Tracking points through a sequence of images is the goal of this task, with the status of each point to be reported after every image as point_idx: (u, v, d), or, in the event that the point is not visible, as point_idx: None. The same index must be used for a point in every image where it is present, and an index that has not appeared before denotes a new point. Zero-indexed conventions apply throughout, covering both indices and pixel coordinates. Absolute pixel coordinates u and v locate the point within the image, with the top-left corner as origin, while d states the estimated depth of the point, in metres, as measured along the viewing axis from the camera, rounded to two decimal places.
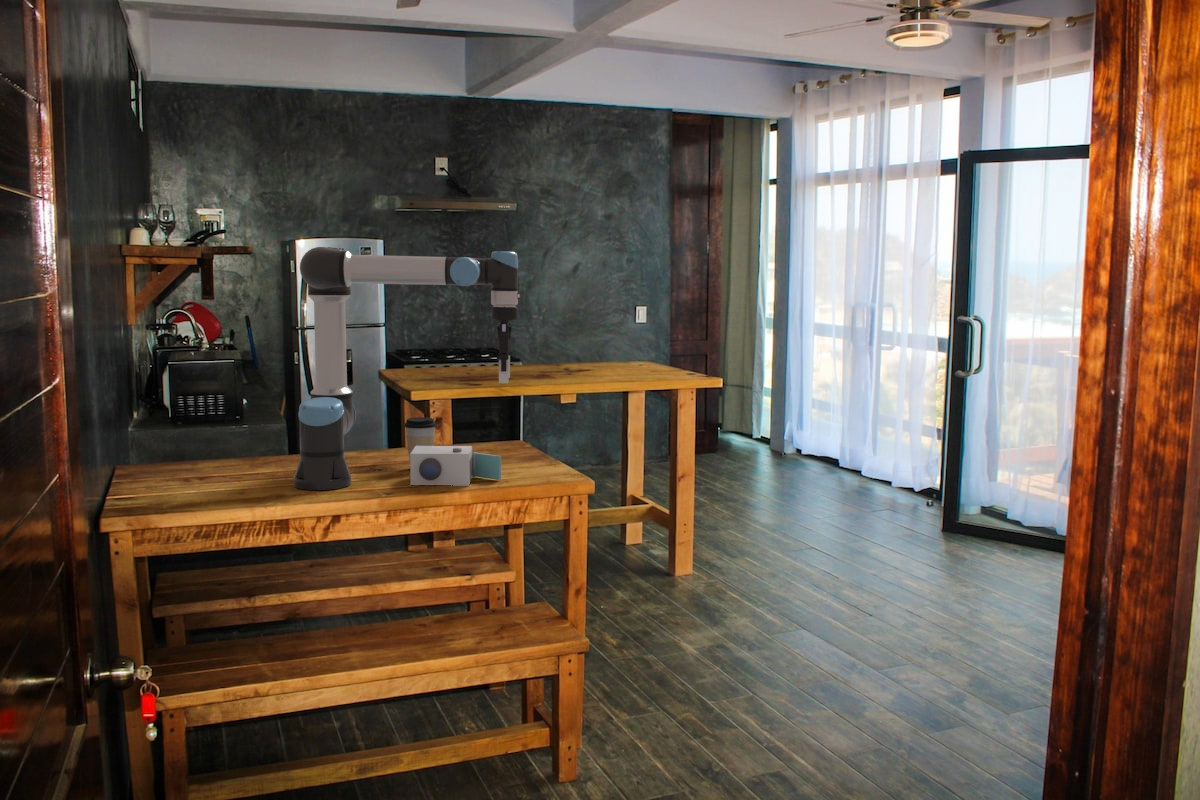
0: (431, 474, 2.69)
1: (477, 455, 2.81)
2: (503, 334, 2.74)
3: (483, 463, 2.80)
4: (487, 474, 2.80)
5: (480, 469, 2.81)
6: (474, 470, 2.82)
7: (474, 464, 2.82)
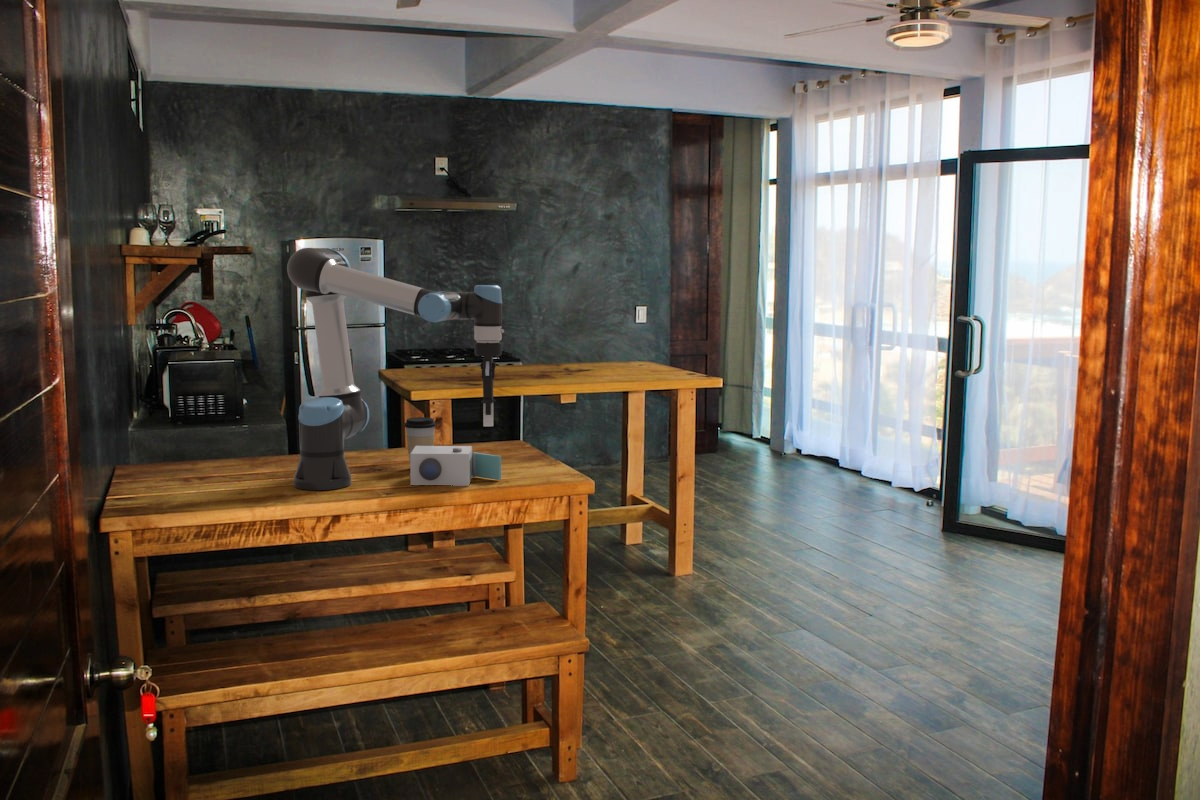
0: (431, 474, 2.69)
1: (477, 455, 2.81)
2: (487, 379, 2.67)
3: (483, 463, 2.80)
4: (487, 474, 2.80)
5: (480, 469, 2.81)
6: (474, 470, 2.82)
7: (474, 464, 2.82)
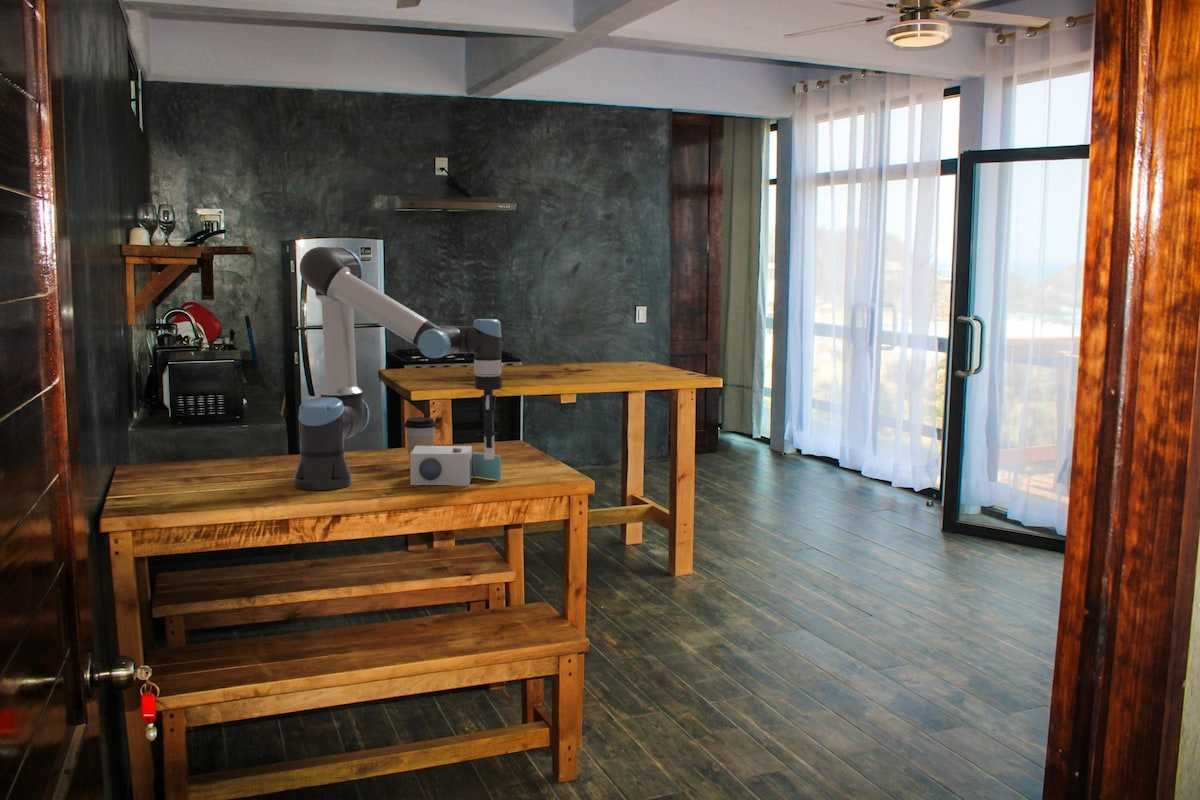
0: (431, 474, 2.69)
1: (477, 455, 2.81)
2: (487, 412, 2.69)
3: (483, 463, 2.80)
4: (487, 474, 2.80)
5: (480, 469, 2.81)
6: (474, 470, 2.82)
7: (474, 464, 2.82)
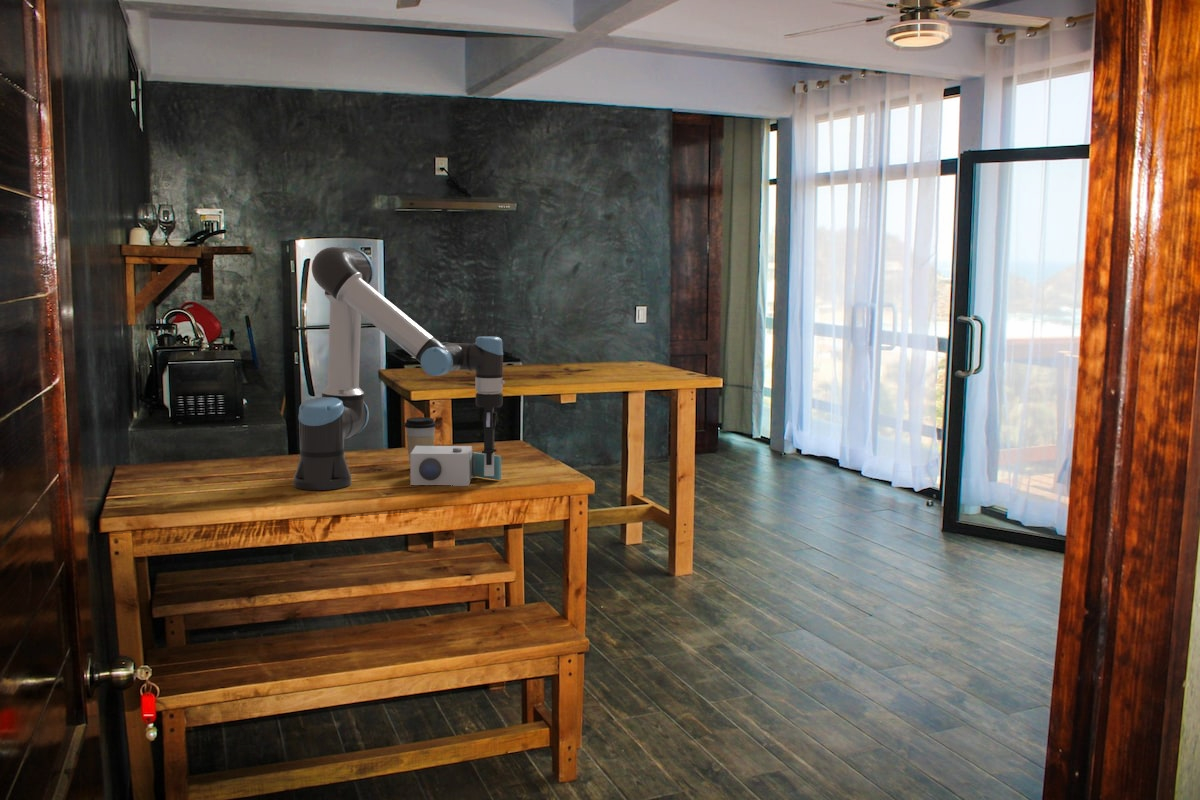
0: (431, 474, 2.69)
1: (477, 455, 2.81)
2: (487, 430, 2.70)
3: (483, 463, 2.80)
4: None
5: (480, 469, 2.81)
6: (474, 470, 2.82)
7: (474, 464, 2.82)
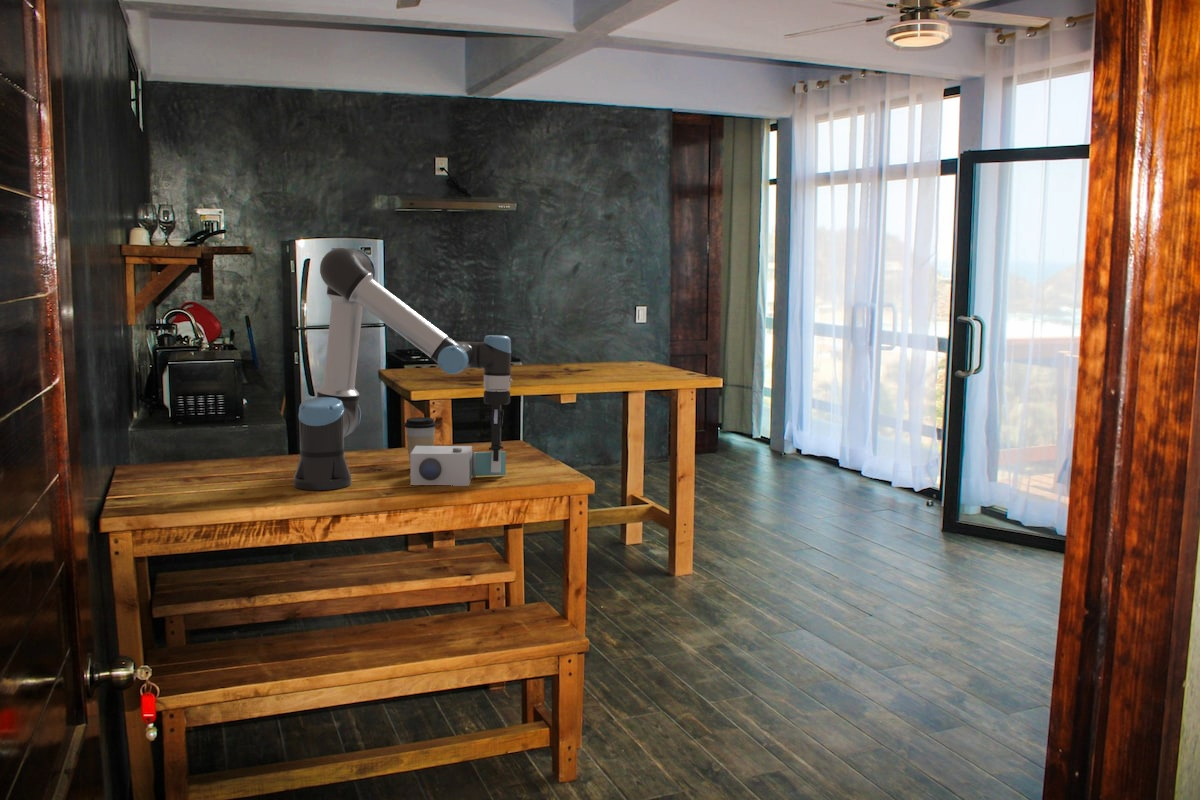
0: (431, 474, 2.69)
1: (478, 454, 2.82)
2: (495, 426, 2.75)
3: (485, 461, 2.83)
4: (490, 471, 2.84)
5: (482, 468, 2.83)
6: (475, 470, 2.82)
7: (475, 464, 2.82)
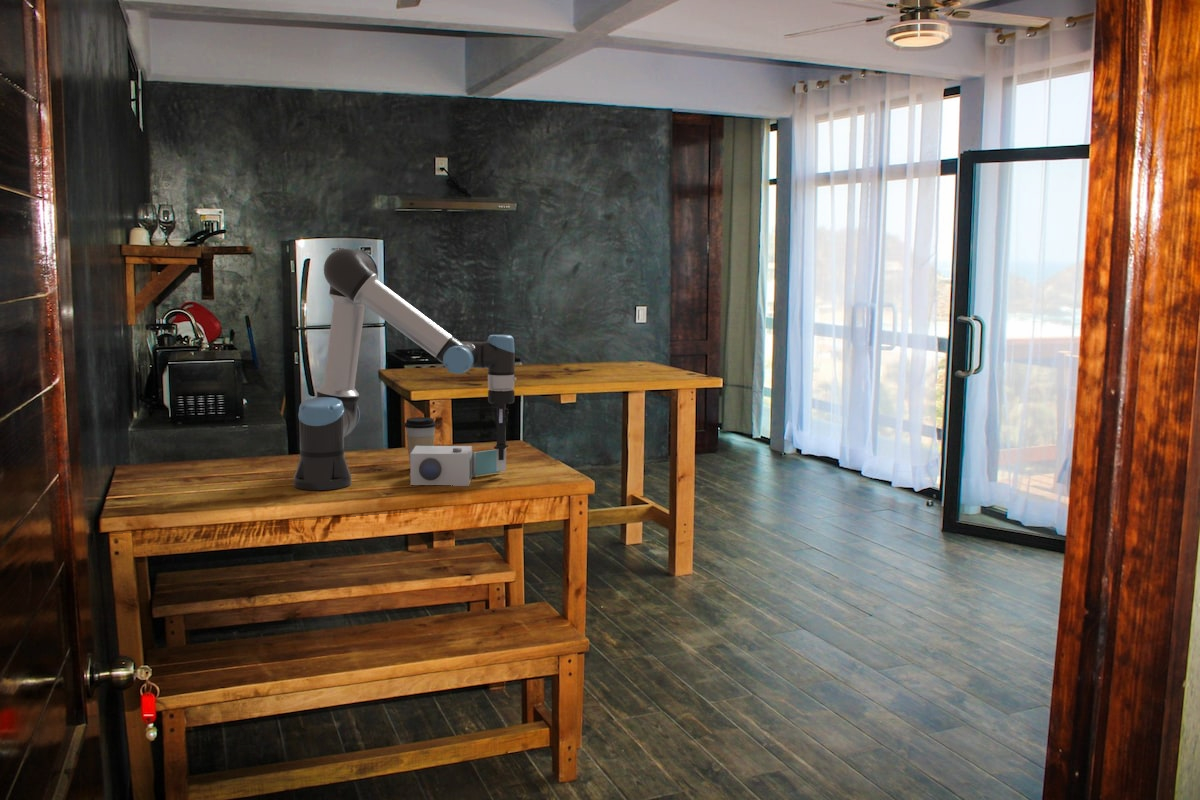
0: (431, 474, 2.69)
1: (477, 454, 2.83)
2: (500, 426, 2.77)
3: (484, 460, 2.84)
4: (488, 470, 2.86)
5: (481, 467, 2.84)
6: (475, 470, 2.83)
7: (475, 464, 2.82)
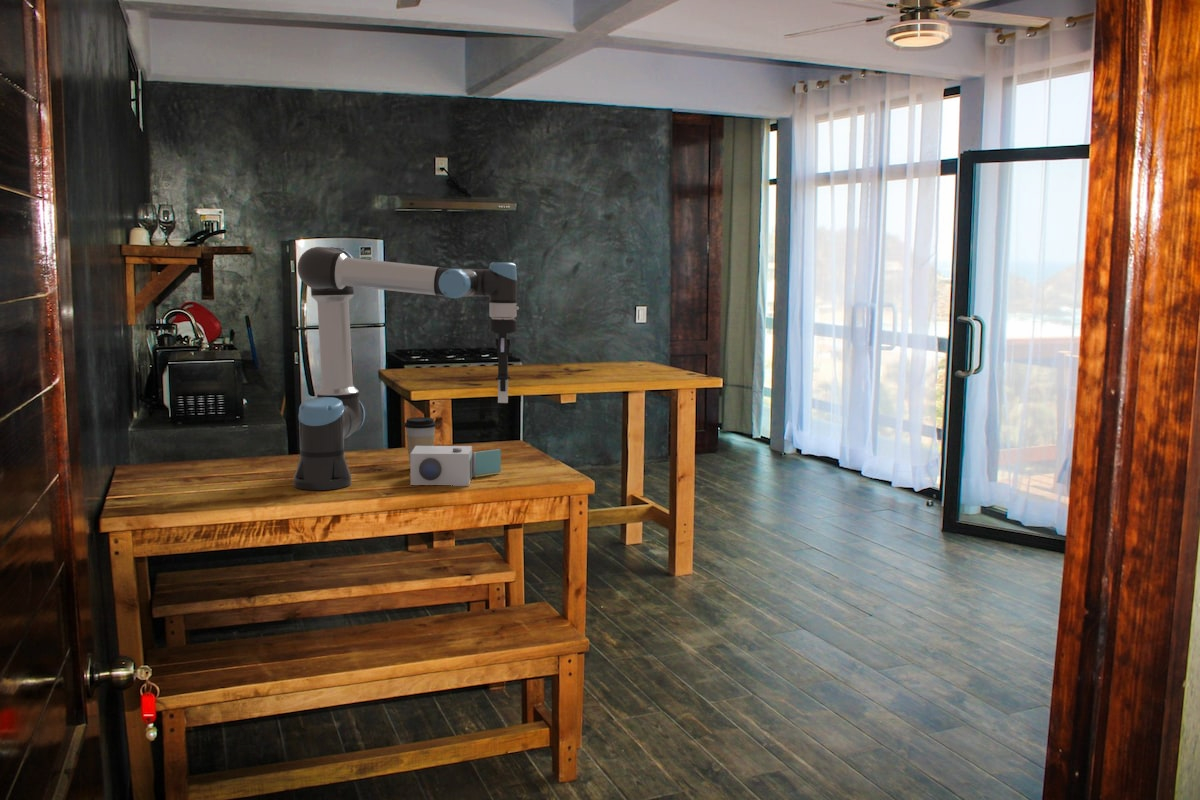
0: (431, 474, 2.69)
1: (477, 454, 2.83)
2: (502, 355, 2.70)
3: (484, 460, 2.84)
4: (488, 470, 2.86)
5: (481, 467, 2.84)
6: (475, 470, 2.83)
7: (475, 464, 2.82)
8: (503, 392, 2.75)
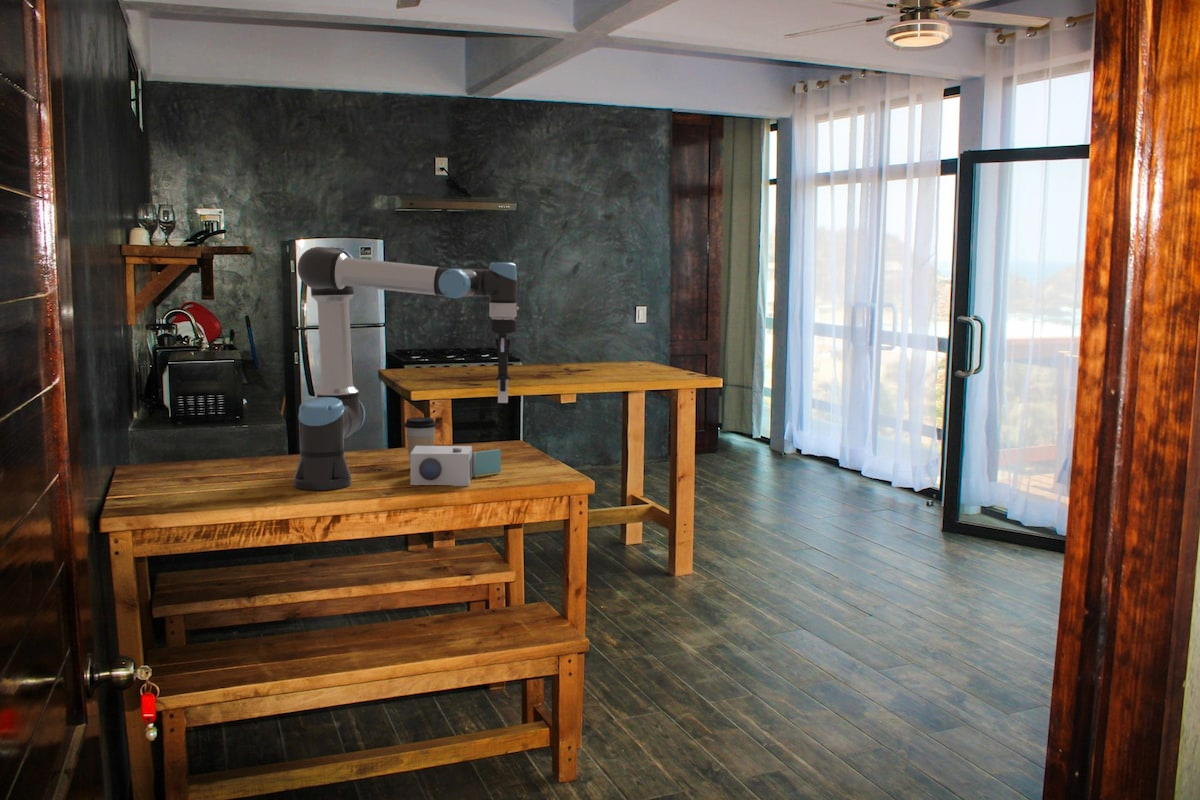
0: (431, 474, 2.69)
1: (477, 454, 2.83)
2: (502, 355, 2.70)
3: (484, 460, 2.84)
4: (488, 470, 2.86)
5: (481, 467, 2.84)
6: (475, 470, 2.83)
7: (475, 464, 2.82)
8: (503, 392, 2.75)
